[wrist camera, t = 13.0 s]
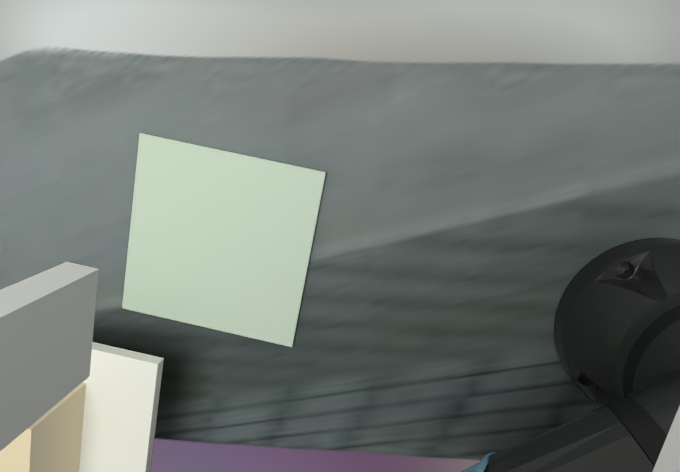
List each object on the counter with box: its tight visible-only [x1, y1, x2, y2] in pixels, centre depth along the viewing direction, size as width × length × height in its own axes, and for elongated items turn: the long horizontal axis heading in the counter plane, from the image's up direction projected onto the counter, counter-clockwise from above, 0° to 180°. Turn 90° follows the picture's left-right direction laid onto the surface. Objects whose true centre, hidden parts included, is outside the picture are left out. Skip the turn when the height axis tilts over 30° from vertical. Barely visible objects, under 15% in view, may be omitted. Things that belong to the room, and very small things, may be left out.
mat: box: [122, 133, 326, 347], centre depth 43 cm, size 16×16×1 cm
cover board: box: [0, 342, 164, 472], centre depth 37 cm, size 14×14×7 cm
